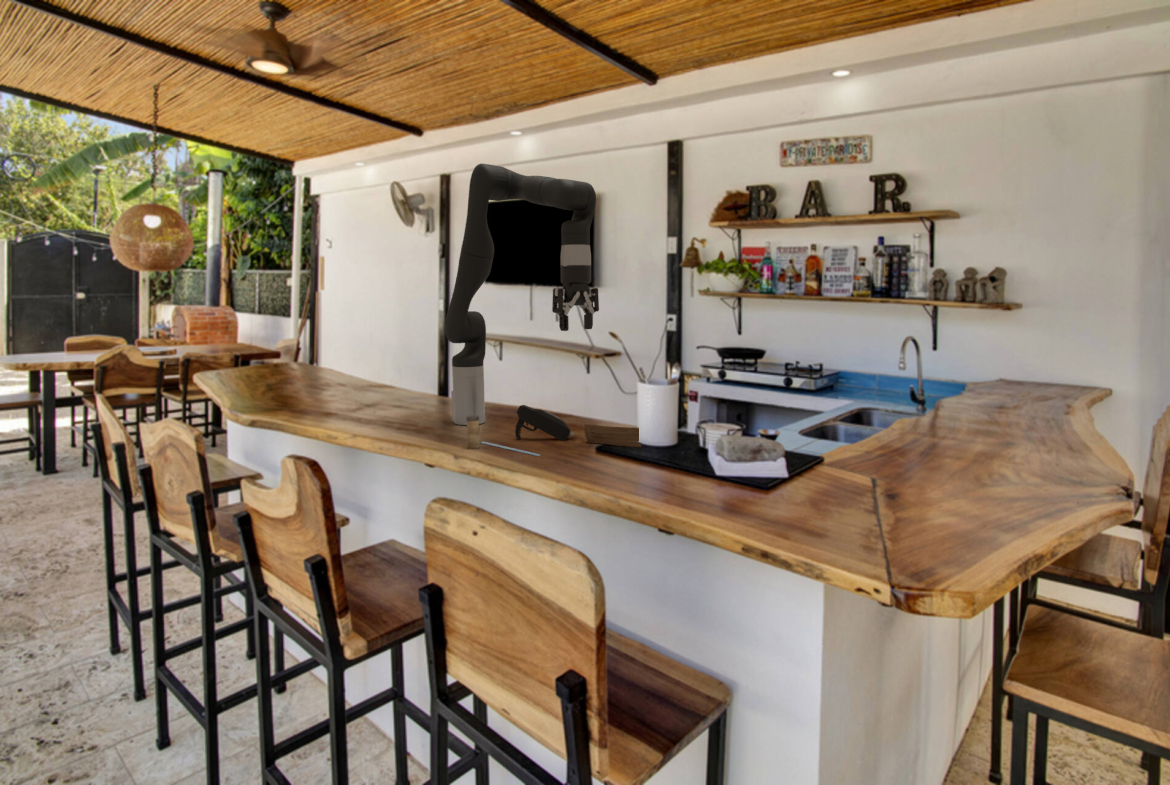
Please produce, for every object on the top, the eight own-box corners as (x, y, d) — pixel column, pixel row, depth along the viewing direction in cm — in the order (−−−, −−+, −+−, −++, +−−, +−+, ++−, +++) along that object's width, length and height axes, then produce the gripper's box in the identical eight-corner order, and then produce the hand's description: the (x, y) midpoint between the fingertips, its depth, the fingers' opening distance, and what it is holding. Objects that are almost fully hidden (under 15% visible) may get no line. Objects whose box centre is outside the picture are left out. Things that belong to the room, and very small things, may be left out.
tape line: (480, 442, 179) (480, 442, 179) (483, 442, 180) (483, 441, 180) (537, 456, 164) (537, 455, 164) (540, 455, 165) (540, 454, 165)
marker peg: (464, 447, 174) (463, 416, 173) (474, 445, 176) (473, 414, 175) (472, 449, 172) (471, 417, 171) (482, 447, 174) (481, 416, 173)
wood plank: (642, 446, 174) (643, 427, 174) (640, 448, 173) (640, 428, 172) (586, 441, 180) (586, 423, 180) (583, 443, 178) (583, 424, 178)
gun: (560, 461, 183) (577, 428, 182) (505, 433, 182) (522, 400, 181) (560, 458, 186) (577, 426, 184) (507, 431, 185) (523, 398, 184)
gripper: (584, 265, 178) (585, 328, 180) (544, 264, 168) (545, 330, 170) (606, 264, 173) (606, 329, 175) (566, 263, 163) (566, 331, 165)
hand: (576, 330), depth 173 cm, fingers open, 8 cm apart
